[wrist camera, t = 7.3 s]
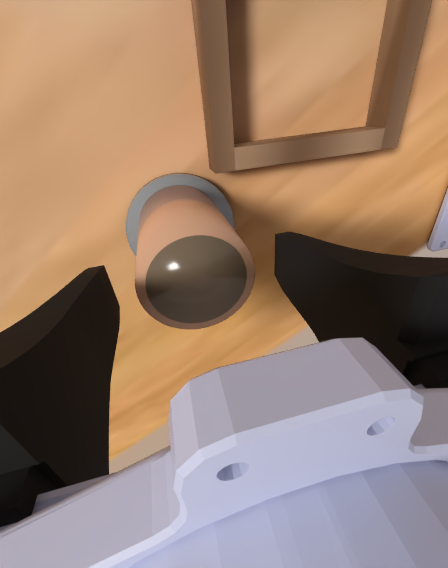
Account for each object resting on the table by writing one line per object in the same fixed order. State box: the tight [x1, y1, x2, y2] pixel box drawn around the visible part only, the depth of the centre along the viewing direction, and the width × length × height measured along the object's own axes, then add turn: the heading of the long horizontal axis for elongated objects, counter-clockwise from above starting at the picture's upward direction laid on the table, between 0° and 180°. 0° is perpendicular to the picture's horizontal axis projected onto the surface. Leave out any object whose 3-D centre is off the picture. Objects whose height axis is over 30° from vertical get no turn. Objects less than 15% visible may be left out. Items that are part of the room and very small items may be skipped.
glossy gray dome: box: [126, 173, 234, 255], centre depth 16 cm, size 6×6×1 cm
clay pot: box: [135, 185, 255, 329], centre depth 13 cm, size 4×4×6 cm
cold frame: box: [191, 0, 432, 173], centre depth 12 cm, size 10×8×2 cm
